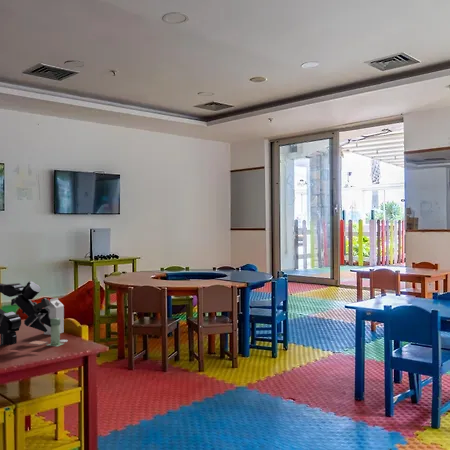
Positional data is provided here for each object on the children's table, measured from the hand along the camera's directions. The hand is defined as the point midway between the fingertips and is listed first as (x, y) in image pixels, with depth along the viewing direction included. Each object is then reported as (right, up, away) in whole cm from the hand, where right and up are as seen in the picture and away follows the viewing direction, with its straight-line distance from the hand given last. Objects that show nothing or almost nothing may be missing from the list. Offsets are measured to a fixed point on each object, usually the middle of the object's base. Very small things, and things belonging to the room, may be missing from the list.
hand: (49, 329), depth 229 cm
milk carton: (-6, -8, +24) cm, 26 cm away
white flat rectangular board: (-1, -8, +4) cm, 9 cm away
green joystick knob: (+3, -7, 0) cm, 8 cm away
